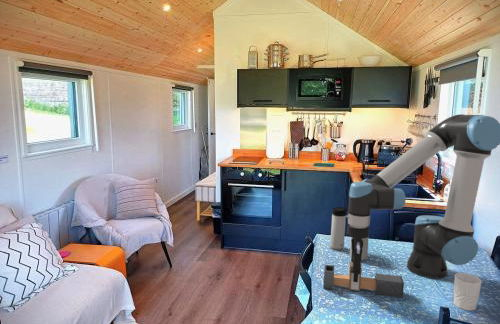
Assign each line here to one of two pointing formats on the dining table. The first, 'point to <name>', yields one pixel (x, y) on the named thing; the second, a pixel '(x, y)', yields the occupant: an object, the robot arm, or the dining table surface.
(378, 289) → the sleeve
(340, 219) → the travel mug
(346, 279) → the l-shaped wooden block pair
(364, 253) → the can
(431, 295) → the dining table surface
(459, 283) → the white cup
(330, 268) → the socket
